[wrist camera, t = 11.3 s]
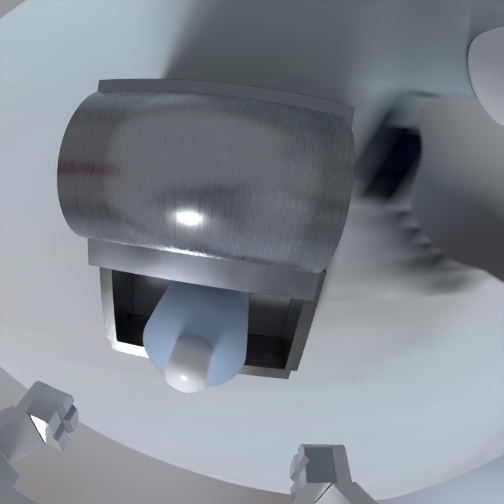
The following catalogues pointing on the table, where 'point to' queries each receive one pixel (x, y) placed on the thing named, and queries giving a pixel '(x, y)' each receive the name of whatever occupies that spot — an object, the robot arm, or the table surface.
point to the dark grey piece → (209, 198)
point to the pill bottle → (488, 71)
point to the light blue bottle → (198, 335)
